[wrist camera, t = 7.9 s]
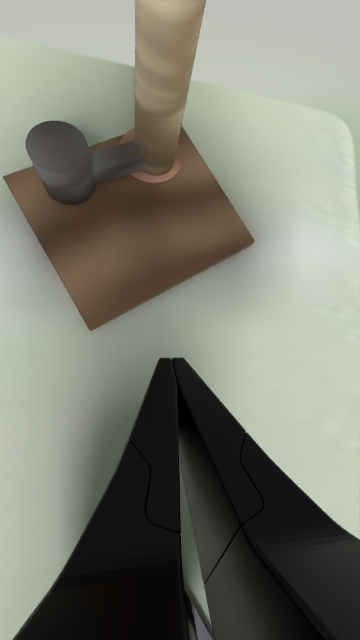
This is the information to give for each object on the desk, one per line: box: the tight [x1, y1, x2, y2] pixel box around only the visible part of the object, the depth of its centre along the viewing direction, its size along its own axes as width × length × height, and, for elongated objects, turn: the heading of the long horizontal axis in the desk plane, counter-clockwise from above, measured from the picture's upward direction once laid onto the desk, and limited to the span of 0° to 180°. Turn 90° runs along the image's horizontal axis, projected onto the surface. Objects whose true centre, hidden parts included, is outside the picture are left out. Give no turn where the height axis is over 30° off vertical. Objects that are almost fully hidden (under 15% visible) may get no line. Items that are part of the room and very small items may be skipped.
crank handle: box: [26, 0, 206, 205], centre depth 15 cm, size 10×4×10 cm, turn 116°
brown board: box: [3, 126, 255, 331], centre depth 21 cm, size 13×15×1 cm
